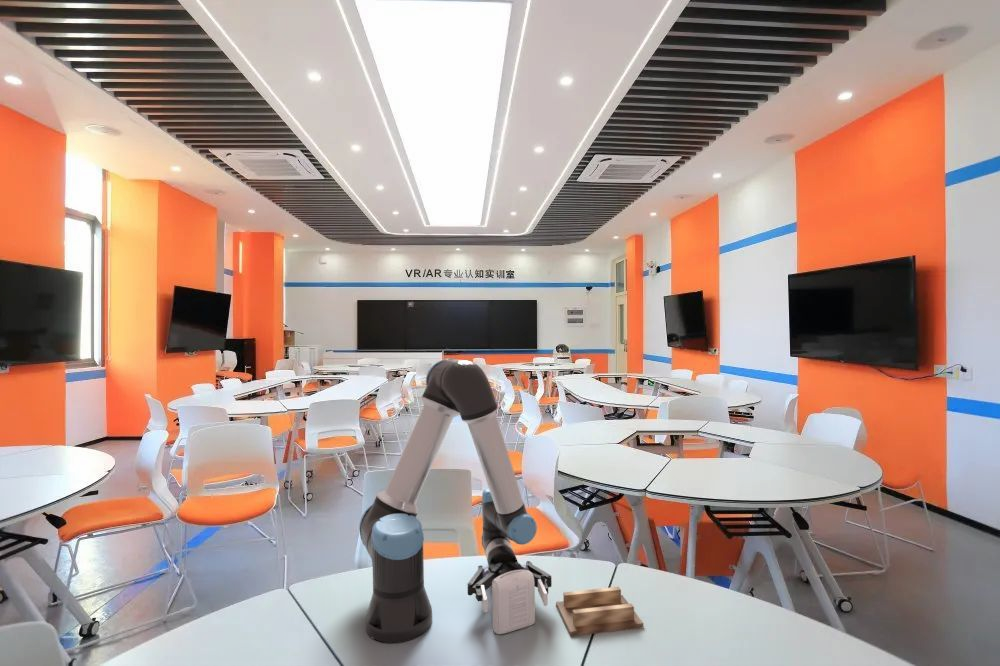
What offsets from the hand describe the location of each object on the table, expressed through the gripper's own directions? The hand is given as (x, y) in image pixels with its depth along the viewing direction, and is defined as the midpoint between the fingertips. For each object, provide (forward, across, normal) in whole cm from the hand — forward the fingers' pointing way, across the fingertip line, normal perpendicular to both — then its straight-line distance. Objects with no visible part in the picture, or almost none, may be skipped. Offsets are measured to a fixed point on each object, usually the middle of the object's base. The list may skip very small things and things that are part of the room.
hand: (516, 602), depth 108 cm
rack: (-3, -20, -7) cm, 21 cm away
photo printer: (-3, 0, -7) cm, 8 cm away
